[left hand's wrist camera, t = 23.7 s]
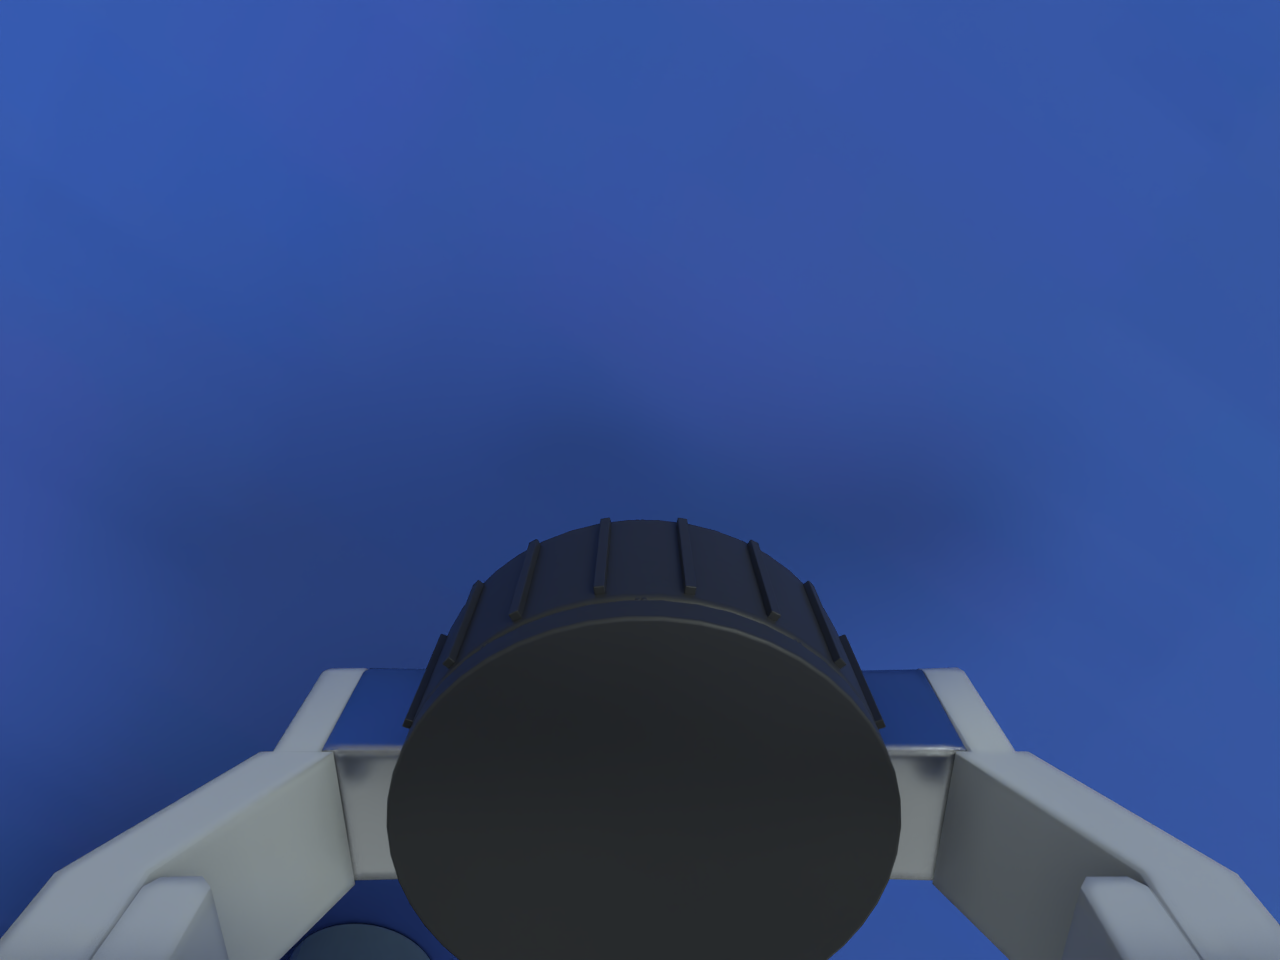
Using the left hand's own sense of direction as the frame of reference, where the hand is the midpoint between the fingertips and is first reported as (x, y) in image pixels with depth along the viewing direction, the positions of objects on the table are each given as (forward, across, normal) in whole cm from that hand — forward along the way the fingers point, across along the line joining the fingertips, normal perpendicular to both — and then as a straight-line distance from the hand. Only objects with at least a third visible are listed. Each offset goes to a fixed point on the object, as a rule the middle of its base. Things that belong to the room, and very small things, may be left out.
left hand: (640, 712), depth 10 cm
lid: (-2, 0, 0) cm, 2 cm away
